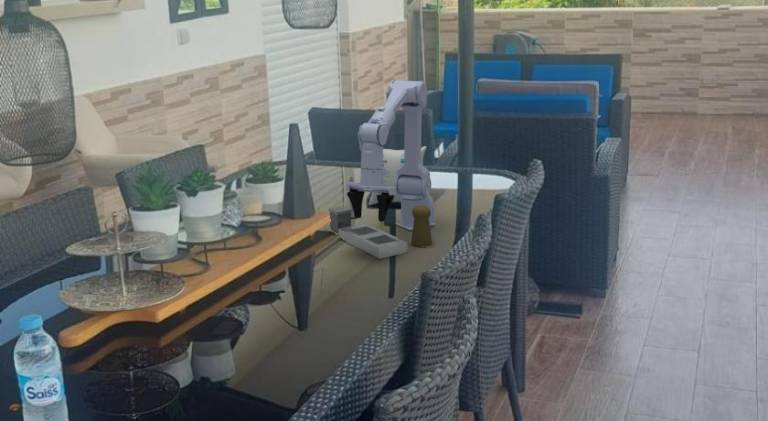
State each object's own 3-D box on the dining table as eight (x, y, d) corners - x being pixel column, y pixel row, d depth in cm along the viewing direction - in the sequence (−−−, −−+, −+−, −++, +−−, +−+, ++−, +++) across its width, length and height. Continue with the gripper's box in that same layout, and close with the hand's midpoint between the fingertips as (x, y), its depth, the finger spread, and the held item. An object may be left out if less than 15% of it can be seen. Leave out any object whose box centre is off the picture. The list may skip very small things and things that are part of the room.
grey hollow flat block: (365, 233, 266) (365, 223, 265) (407, 252, 248) (407, 242, 248) (338, 238, 262) (338, 228, 261) (379, 258, 244) (379, 248, 243)
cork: (430, 247, 252) (430, 209, 249) (409, 246, 253) (408, 208, 250) (433, 241, 258) (433, 203, 255) (412, 240, 259) (412, 203, 256)
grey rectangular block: (343, 229, 271) (343, 205, 269) (352, 233, 267) (351, 209, 265) (329, 232, 268) (328, 208, 266) (337, 236, 264) (337, 212, 262)
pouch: (423, 211, 288) (423, 149, 282) (365, 208, 293) (364, 147, 287) (429, 204, 295) (428, 144, 289) (372, 201, 300) (371, 142, 295)
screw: (363, 216, 283) (353, 220, 280) (351, 213, 286) (341, 217, 283) (362, 175, 280) (352, 179, 276) (350, 173, 283) (340, 176, 279)
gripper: (340, 167, 241) (338, 217, 243) (386, 171, 234) (384, 224, 236) (355, 165, 247) (353, 215, 249) (400, 170, 240) (398, 221, 242)
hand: (369, 219), depth 243 cm, fingers open, 7 cm apart
